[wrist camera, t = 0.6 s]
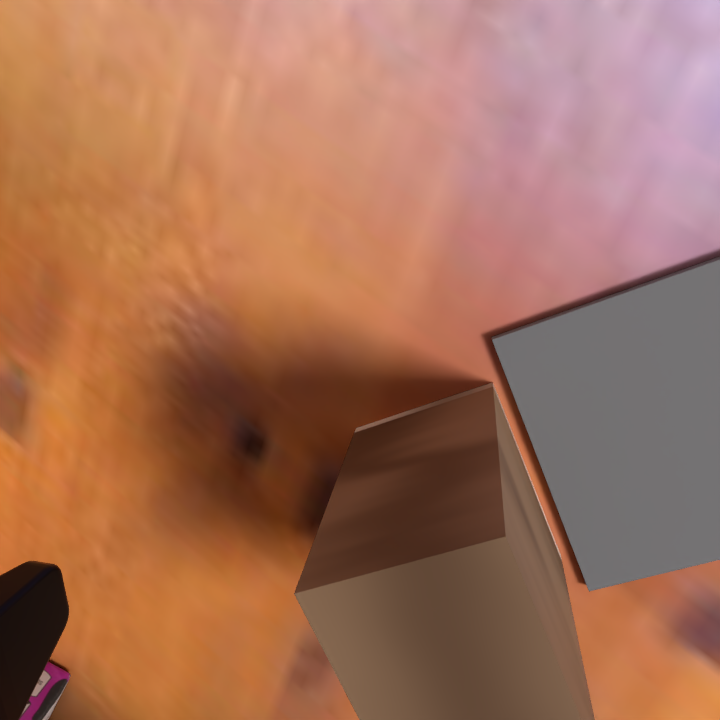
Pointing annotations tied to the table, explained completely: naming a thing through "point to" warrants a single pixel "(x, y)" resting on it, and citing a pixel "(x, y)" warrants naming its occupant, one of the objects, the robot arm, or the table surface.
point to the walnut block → (443, 574)
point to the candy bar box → (46, 693)
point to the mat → (628, 422)
